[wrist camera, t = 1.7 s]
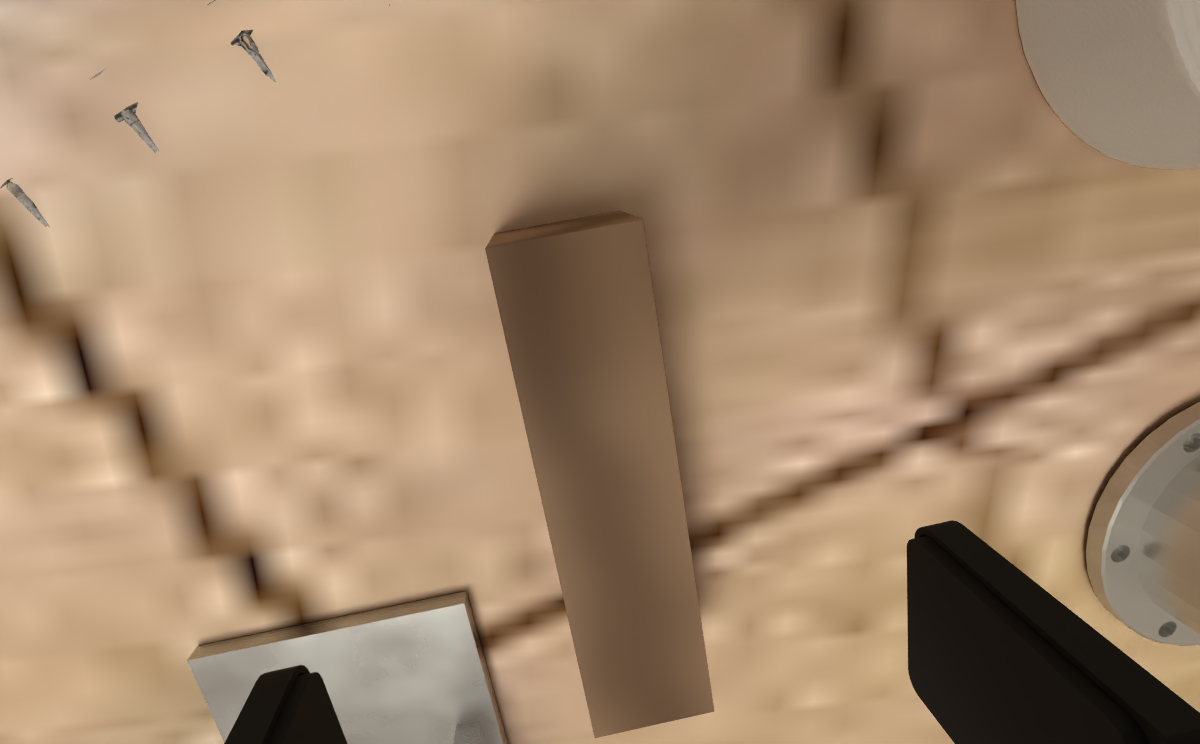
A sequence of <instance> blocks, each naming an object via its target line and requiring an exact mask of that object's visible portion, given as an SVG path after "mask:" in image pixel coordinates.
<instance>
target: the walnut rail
mask: <svg viewBox="0 0 1200 744" xmlns="http://www.w3.org/2000/svg"><path fill="white" fill-rule="evenodd" d="M485 250H486V254H487V259H488V263H489V267H490V272H491V276H492V281H493V285H494V290H495V294H496V299H497V303H498V308H499V312H500V317H501V321H502V326H503V330H504V334H505V339H506V343H507V348H508V352H509V357H510V361H511V366H512V370H513V375H514V379H515V384H516V388H517V392H518V397H519V401H520V406H521V410H522V415H523V419H524V424H525V428H526V433H527V437H528V442H529V446H530V450H531V455H532V459H533V464H534V468H535V473H536V477H537V482H538V486H539V491H540V495H541V500H542V504H543V508H544V513H545V517H546V522H547V526H548V531H549V535H550V540H551V544H552V549H553V553H554V558H555V562H556V567H557V571H558V575H559V580H560V584H561V589H562V593H563V598H564V602H565V607H566V611H567V616H568V620H569V625H570V629H571V633H572V638H573V642H574V647H575V651H576V656H577V660H578V665H579V669H580V674H581V678H582V683H583V687H584V691H585V696H586V700H587V705H588V709H589V714H590V718H591V723H592V727H593V732H594V736H595V738H598V737H602V736H607V735H611V734H616V733H620V732H625V731H629V730H633V729H638V728H642V727H647V726H651V725H656V724H660V723H665V722H669V721H674V720H678V719H683V718H687V717H692V716H696V715H700V714H705V713H709V712H714V706H713V699H712V692H711V685H710V678H709V672H708V665H707V658H706V651H705V644H704V637H703V630H702V623H701V617H700V610H699V603H698V596H697V589H696V582H695V575H694V568H693V562H692V555H691V548H690V541H689V534H688V527H687V520H686V513H685V507H684V500H683V493H682V486H681V479H680V472H679V465H678V459H677V452H676V445H675V438H674V431H673V424H672V417H671V410H670V404H669V397H668V390H667V383H666V376H665V369H664V362H663V355H662V349H661V342H660V335H659V328H658V321H657V314H656V307H655V300H654V294H653V287H652V280H651V273H650V266H649V259H648V252H647V245H646V239H645V232H644V225H643V220H642V219H640V218H637V217H635V216H632V215H630V214H627V213H625V212H622V211H616V212H611V213H605V214H600V215H594V216H589V217H583V218H578V219H572V220H567V221H562V222H556V223H551V224H545V225H540V226H534V227H529V228H523V229H518V230H512V231H507V232H501V233H496V234H494V235H493V237H492V238H491V240H490V242H489V243H488V245H487V247H486V248H485Z"/></svg>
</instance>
